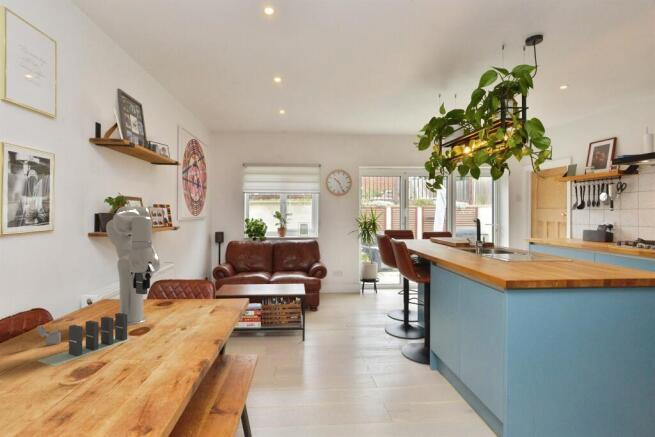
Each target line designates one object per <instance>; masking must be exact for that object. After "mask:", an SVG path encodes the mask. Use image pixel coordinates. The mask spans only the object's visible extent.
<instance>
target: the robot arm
mask: <svg viewBox="0 0 655 437" xmlns="http://www.w3.org/2000/svg"><path fill="white" fill-rule="evenodd" d="M105 228H106V229H105V230H106V235H107V238H108V240H109V241H110V243H111V244H112V245H113V246H114V247H115V251H116V254H117V257H118V260H117V273H118V278H119V280H118V281H119V313H123V314H127V327H128V326H134V325H135V326H136V325H139V324H143V323H144V322H147V320H148V318H147V317H146V316H144V295H143V294H136V273H142V274H143V279H144V280H142V289H147V290H148V289H150V288H151V279H152V277H153V275H154V274H155V273H157V272H158V271H159V270H160V268H161V261H160V257H159V255H158V253H157V251H156V249H155V246H154V245H153V243H152V242H153V241H152V240H153V235H152V234H153V231H152V229H153V222H152V218H151V214H150V210H149V208H147V207H146V206H137V205H133V206H131V205H129V206H127V205H125V206H121V207H119V208H118V209H117V210H116V212H115V214H114V215H113V218H112V219H110V220H109V221H107V223H106V226H105ZM129 235H130V236H131V237H130V236H129ZM145 271H147V272H145ZM146 273H147V275H146Z"/></svg>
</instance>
